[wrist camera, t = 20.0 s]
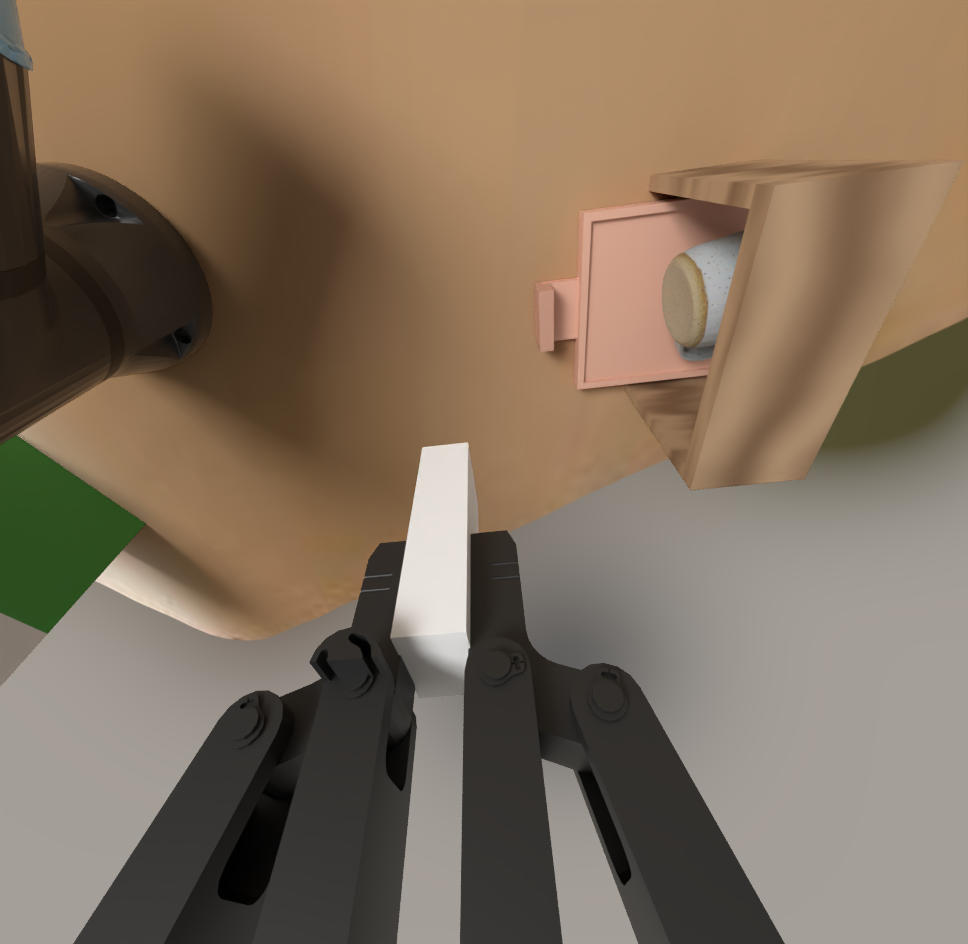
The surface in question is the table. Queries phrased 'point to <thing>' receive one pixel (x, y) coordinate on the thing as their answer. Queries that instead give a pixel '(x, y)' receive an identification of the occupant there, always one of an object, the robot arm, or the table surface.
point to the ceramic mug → (699, 294)
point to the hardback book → (48, 545)
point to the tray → (627, 290)
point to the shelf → (791, 309)
